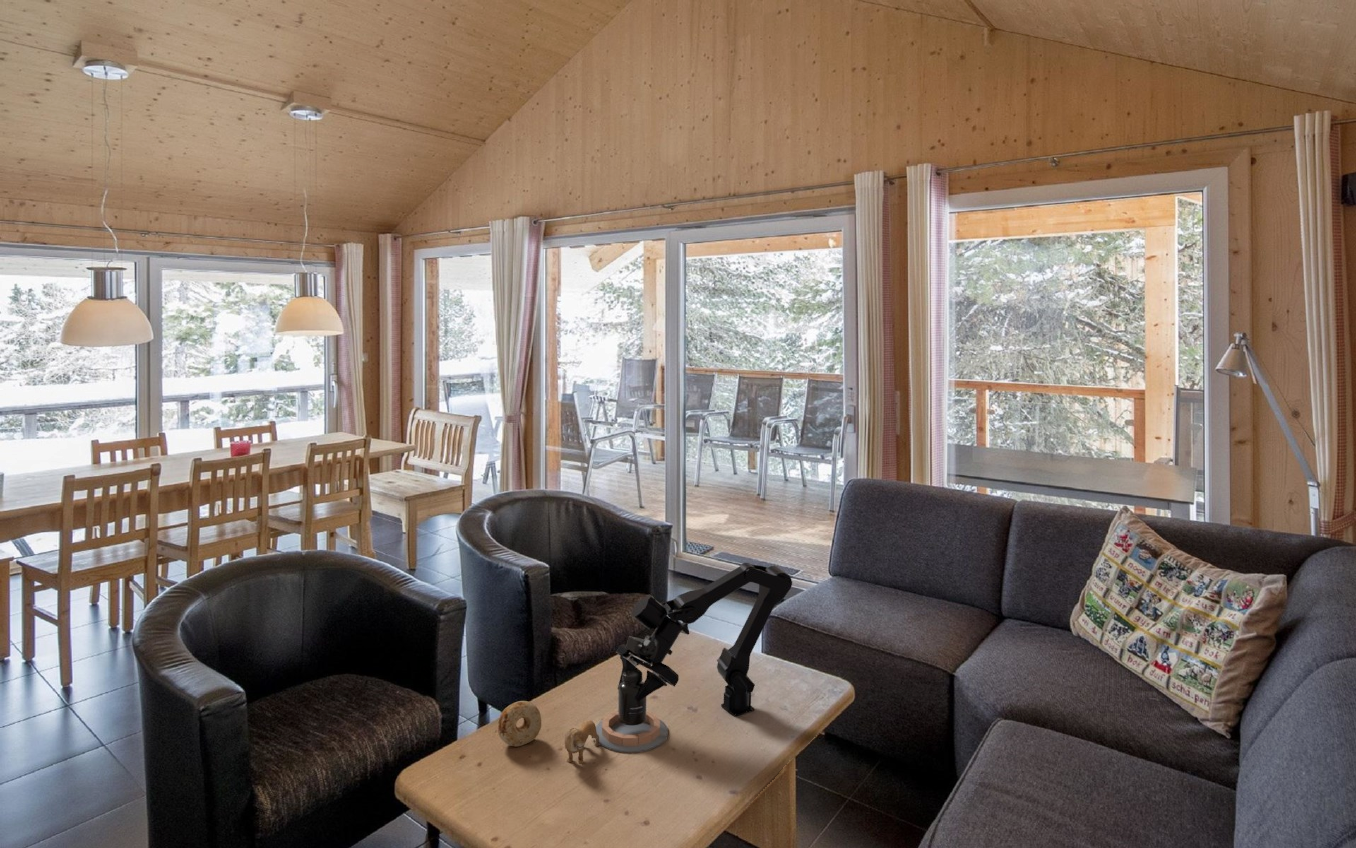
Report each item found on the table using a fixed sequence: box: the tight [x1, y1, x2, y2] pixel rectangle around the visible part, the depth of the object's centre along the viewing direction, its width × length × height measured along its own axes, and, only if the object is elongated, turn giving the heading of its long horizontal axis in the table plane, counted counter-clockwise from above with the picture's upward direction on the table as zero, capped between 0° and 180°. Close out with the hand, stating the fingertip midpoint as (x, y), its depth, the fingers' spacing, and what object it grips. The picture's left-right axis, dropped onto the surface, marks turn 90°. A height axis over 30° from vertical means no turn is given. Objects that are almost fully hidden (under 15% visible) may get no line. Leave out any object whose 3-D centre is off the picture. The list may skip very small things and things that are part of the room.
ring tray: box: [595, 710, 669, 754], centre depth 196 cm, size 18×18×3 cm
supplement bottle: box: [617, 669, 647, 726], centre depth 195 cm, size 7×7×12 cm
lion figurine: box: [564, 720, 600, 764], centre depth 186 cm, size 15×5×9 cm, turn 167°
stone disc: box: [497, 700, 542, 747], centre depth 190 cm, size 10×4×10 cm, turn 123°
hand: (627, 695), depth 194 cm, fingers closed on supplement bottle, 7 cm apart
